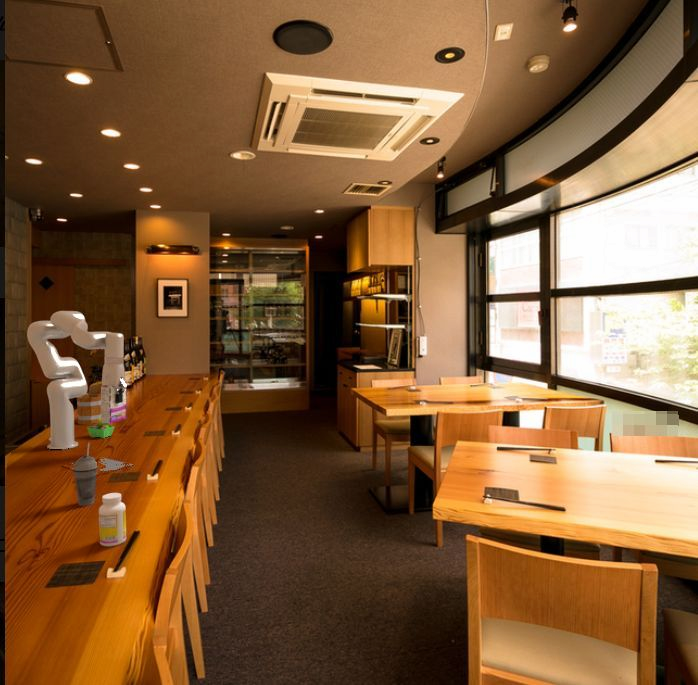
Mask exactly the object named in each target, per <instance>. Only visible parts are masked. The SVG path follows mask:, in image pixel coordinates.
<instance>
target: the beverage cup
mask: <svg viewBox="0 0 698 685" xmlns="http://www.w3.org/2000/svg"><path fill="white" fill-rule="evenodd" d="M89 451H90V442H88V443H87V450H86V455H83V456H80V457H79V458H77V460H76V461H75V464H74V469H72V471H73V475H74V480H75V488H76V495H77V502H78V506H81V507H87V506H91V505H93V504H95V497H96V485H97V484H96V483H97V475H96V474H97V468H98V466H97V462H96V461H95V459H94V457H93V456H90V455H89V454H90V452H89Z"/></svg>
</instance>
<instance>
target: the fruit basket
mask: <svg viewBox="0 0 698 685" xmlns="http://www.w3.org/2000/svg"><path fill="white" fill-rule="evenodd" d="M98 422H99V423H97V424H93V425H91V426H88V427H86V428H87V429H86V430H87V431H88V434H89V436H94V437H101V438H100V439H102V438H104V439H106V438H105V437H108V436H111V435H113V432H114V429H115V425H114V426H113V425H110V424H105V423H101V418H99V419H98ZM94 437H93V438H94ZM111 437H112V436H111ZM108 438H109V437H108Z"/></svg>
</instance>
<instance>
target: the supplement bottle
mask: <svg viewBox="0 0 698 685" xmlns="http://www.w3.org/2000/svg"><path fill="white" fill-rule="evenodd" d="M101 499H102V503H103V504H101V506H100V507H99V509H98V530H99V534H98V535H99V544H100V545H101V546H103V547H115V546H119V545H121V544H123V543H124V542H125V541H126V540H127V519H126V518H127V516H126V515H127V514H126V511H127V510H126V509H127V508H126V507H127V506H126V505H125V503H124V502H122V494H121V493H119V492H111V493H107V494H104V495H102V498H101Z"/></svg>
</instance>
